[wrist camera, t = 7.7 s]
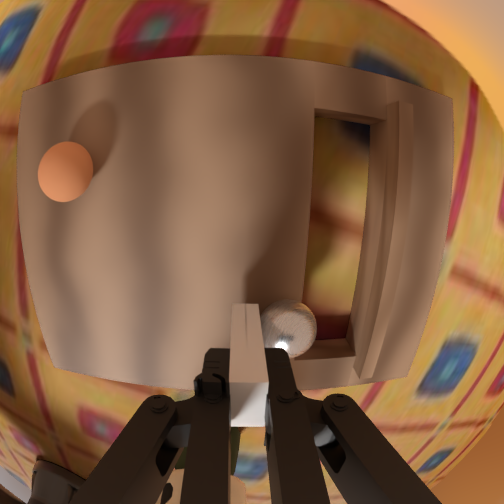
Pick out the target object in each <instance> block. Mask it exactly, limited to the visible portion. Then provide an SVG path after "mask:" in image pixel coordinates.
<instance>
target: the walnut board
mask: <svg viewBox="0 0 504 504" xmlns="http://www.w3.org/2000/svg"><path fill="white" fill-rule="evenodd" d="M314 117H322V118H329V119H337V120H343V121H350V122H356V123H362V124H367V125H370V151H369V173H368V188H367V201H366V212H365V222H364V231H363V239H362V247H361V255H360V262H359V268H358V275H357V281H356V287H355V293H354V298H353V304H352V309H351V314H350V319H349V324H348V329H347V334H346V338H343V339H326V340H314V342H313V344H312V346H311V347H310V348H309V349H308V350H307V351H306V352H305V353H303V354H301V355H300V356H297V357H294V358H289V359H290V363H291V368H292V371H293V375H294V379H295V383H296V387H297V389H298V390H314V389H326V388H336V387H345V386H353V385H361V384H368V383H374V382H381V381H387V380H392V379H398V378H403V377H407V375H408V373H409V370H410V368H411V365H412V362H413V360H414V357H415V354H416V352H417V349H418V346H419V343H420V340H421V337H422V334H423V331H424V328H425V325H426V321H427V318H428V315H429V311H430V308H431V304H432V300H433V297H434V293H435V289H436V285H437V280H438V276H439V271H440V267H441V262H442V257H443V252H444V246H445V240H446V234H447V227H448V220H449V212H450V203H451V193H452V180H453V160H454V122H453V103H452V98H449V97H447V96H444V95H442V94H439V93H437V92H434V91H431V90H429V89H426V88H423V87H420V86H417V85H414V84H411V83H408V82H405V81H401V80H398V79H395V78H391V77H388V76H384V75H380V74H376V73H372V72H368V71H364V70H360V69H355V68H350V67H345V66H340V65H335V64H329V63H323V62H316V61H309V60H302V59H293V58H283V57H271V56H254V55H198V56H182V57H170V58H160V59H152V60H144V61H137V62H131V63H125V64H119V65H114V66H109V67H104V68H100V69H95V70H91V71H87V72H83V73H79V74H75V75H72V76H68V77H65V78H61V79H58V80H55V81H52V82H48V83H45V84H42V85H40V86H37V87H34V88H31V89H29V90H26V91H23V94H22V101H21V109H20V117H19V128H18V143H17V197H18V212H19V223H20V232H21V240H22V247H23V254H24V260H25V266H26V271H27V276H28V281H29V286H30V290H31V294H32V298H33V302H34V306H35V310H36V314H37V317H38V321H39V324H40V328H41V331H42V334H43V337H44V340H45V343H46V346H47V349H48V352H49V355H50V357H51V360H52V363H53V365H54V367H55V368H59V369H63V370H67V371H71V372H75V373H80V374H84V375H89V376H94V377H99V378H104V379H109V380H115V381H121V382H127V383H134V384H141V385H149V386H157V387H166V388H176V389H188V390H194V382H193V381H194V379H195V377H196V376H197V375H199V374H200V373H202V369H203V363H204V357H205V353H206V352H207V351H208V350H209V349H210V348H230V345H231V323H232V303H234V304H258V306H259V314H260V316H261V314H262V313H263V311H264V310H265V309H266V308H267V307H268V306H269V305H271V304H272V303H274V302H277V301H280V300H285V299H290V300H296V301H299V302H301V303H302V296H303V287H304V277H305V267H306V256H307V245H308V233H309V220H310V206H311V189H312V171H313V147H314ZM68 141H69V142H75V143H78V144H80V145H82V146H83V147H84V148H85V149H86V150H87V151H88V152H89V154H90V156H91V159H92V162H93V176H92V179H91V182H90V184H89V186H88V188H87V189H86V190H85V192H84V193H83V194H82V195H81V196H79V197H78V198H76V199H74V200H72V201H68V202H58V201H55V200H52V199H50V198H49V197H48V196H46V195H45V193H44V192H43V191H42V189H41V187H40V185H39V181H38V168H39V164H40V162H41V159H42V158H43V156H44V154H45V153H46V152H47V151H48V150H49V149H50V148H51V147H53V146H54V145H56V144H58V143H61V142H68Z"/></svg>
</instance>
